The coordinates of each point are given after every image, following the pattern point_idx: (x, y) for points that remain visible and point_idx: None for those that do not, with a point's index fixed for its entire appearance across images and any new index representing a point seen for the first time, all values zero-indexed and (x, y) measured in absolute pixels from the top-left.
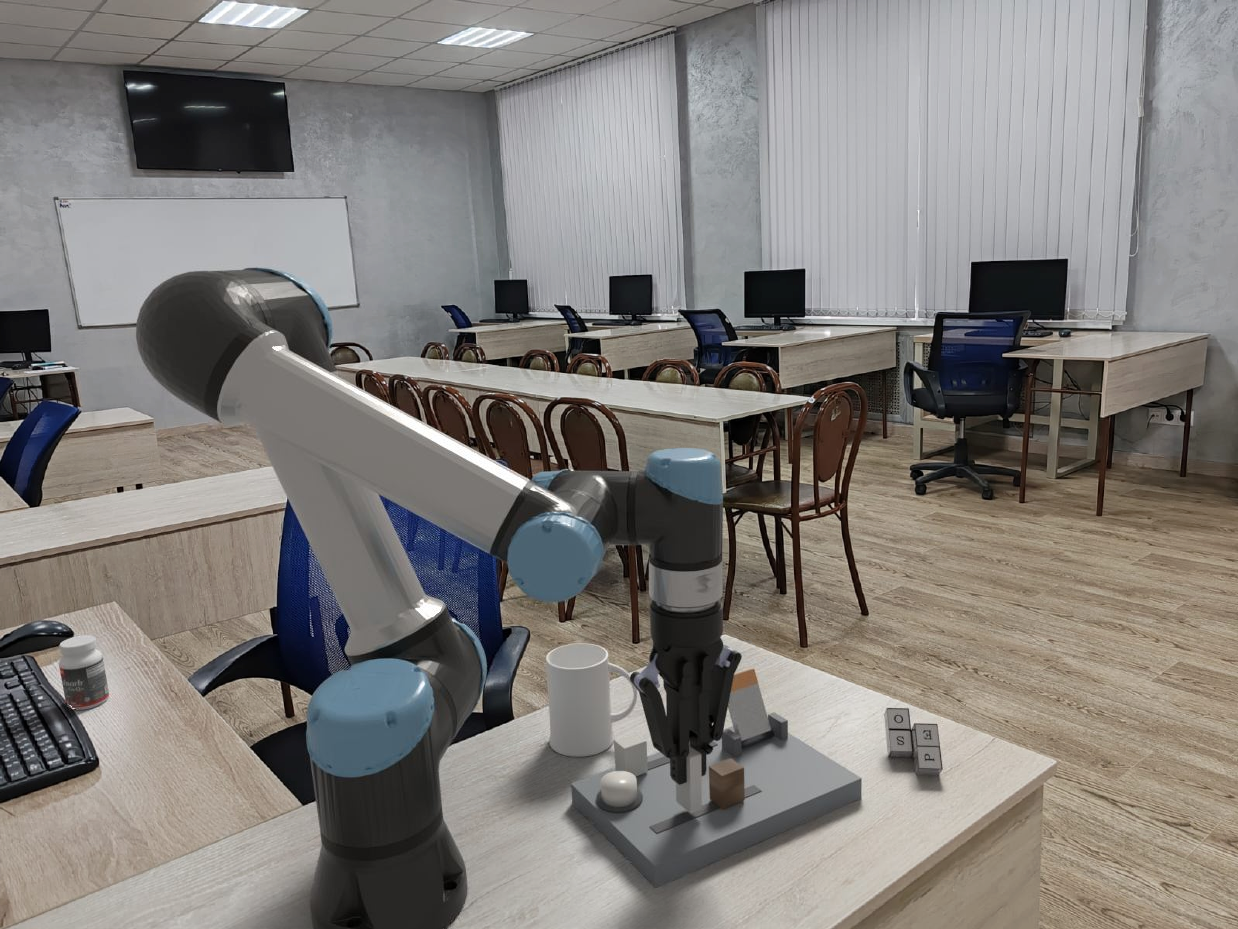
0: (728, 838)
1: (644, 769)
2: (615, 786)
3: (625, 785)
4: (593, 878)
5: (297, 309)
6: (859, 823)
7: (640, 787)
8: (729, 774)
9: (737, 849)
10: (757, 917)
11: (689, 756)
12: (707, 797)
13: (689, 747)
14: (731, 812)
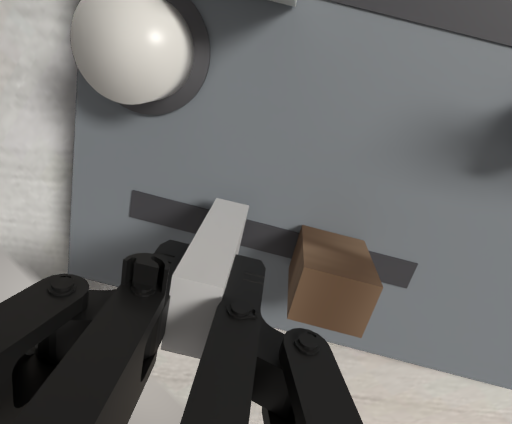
0: None
1: (283, 2)
2: (98, 64)
3: (124, 84)
4: (20, 157)
5: None
6: (462, 395)
7: (226, 50)
8: (311, 323)
9: None
10: (164, 384)
11: (166, 344)
12: (306, 213)
13: (209, 313)
14: None
